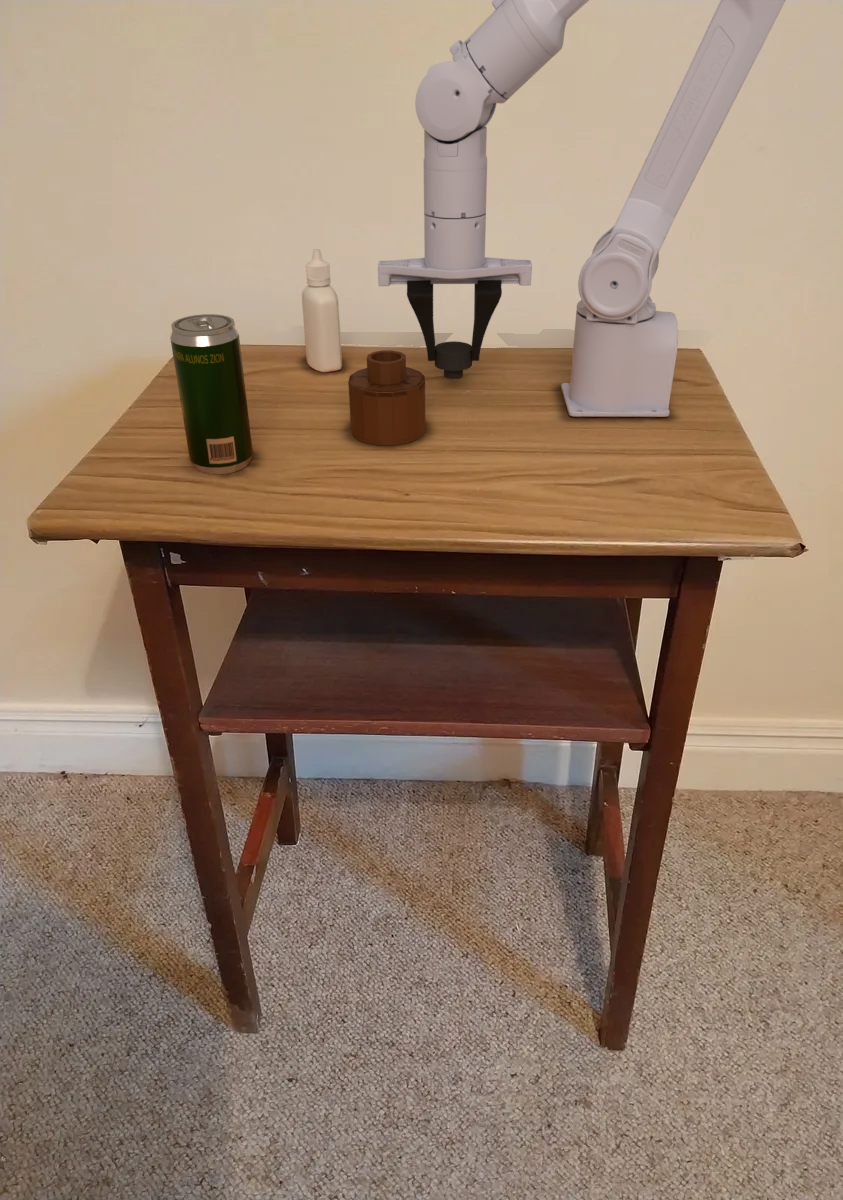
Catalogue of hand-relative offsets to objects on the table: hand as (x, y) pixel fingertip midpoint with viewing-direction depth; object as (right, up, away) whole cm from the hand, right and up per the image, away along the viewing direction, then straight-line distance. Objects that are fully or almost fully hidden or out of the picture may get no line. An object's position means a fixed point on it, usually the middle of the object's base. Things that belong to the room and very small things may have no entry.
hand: (453, 357), depth 91 cm
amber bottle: (-6, -9, -7) cm, 13 cm away
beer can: (-21, -13, -13) cm, 27 cm away
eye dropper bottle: (-14, +1, +8) cm, 16 cm away
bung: (0, -2, +1) cm, 2 cm away
